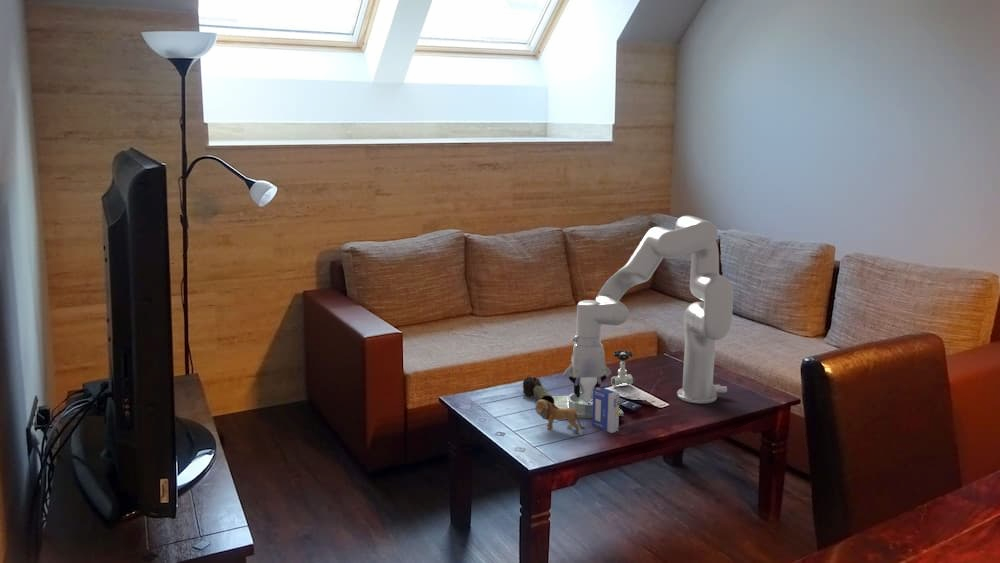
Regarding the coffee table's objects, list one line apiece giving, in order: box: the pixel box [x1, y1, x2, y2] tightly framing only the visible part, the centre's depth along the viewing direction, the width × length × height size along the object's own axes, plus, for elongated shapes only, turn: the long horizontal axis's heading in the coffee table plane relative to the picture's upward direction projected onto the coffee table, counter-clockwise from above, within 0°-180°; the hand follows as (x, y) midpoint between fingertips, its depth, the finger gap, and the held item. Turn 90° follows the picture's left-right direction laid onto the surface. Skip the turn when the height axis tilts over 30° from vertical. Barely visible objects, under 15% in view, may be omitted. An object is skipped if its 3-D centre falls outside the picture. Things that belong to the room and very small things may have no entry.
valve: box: [610, 349, 634, 387], centre depth 270 cm, size 7×7×12 cm
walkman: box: [591, 387, 620, 434], centre depth 236 cm, size 8×3×12 cm, turn 42°
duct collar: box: [551, 391, 625, 420], centre depth 252 cm, size 20×16×3 cm
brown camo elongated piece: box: [522, 376, 554, 404], centre depth 260 cm, size 18×7×6 cm, turn 15°
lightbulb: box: [579, 377, 597, 403], centre depth 251 cm, size 6×6×11 cm
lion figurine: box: [534, 399, 586, 434], centre depth 235 cm, size 15×5×9 cm, turn 83°
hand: (587, 395), depth 251 cm, fingers closed on lightbulb, 5 cm apart
